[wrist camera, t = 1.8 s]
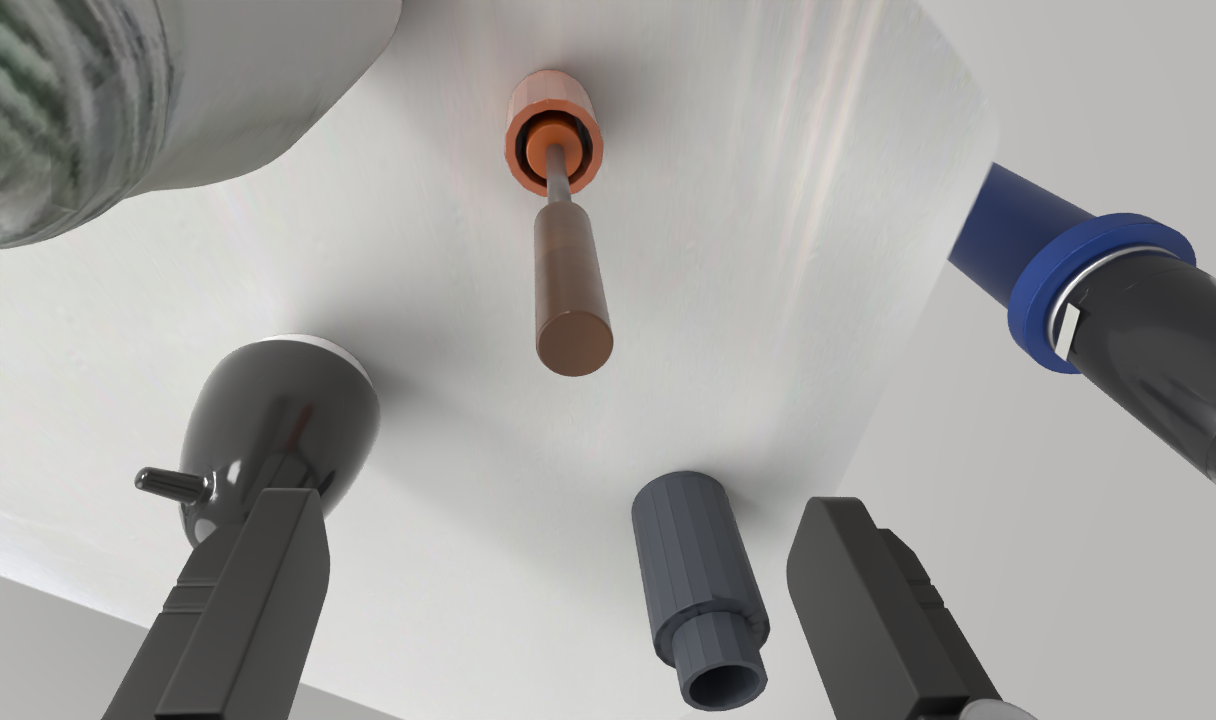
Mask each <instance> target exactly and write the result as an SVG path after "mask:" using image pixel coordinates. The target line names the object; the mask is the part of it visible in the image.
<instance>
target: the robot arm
mask: <svg viewBox="0 0 1216 720" xmlns="http://www.w3.org/2000/svg"><path fill="white" fill-rule="evenodd" d="M1043 333H1044V338H1045V340H1046V343H1047V344H1048V346H1049V347H1050V349H1051V350H1052V351H1053V352H1055V353H1056V354H1057V355H1058V356H1059V357H1061V358H1062V359H1063V360H1065V361H1066V362H1068V363H1070V364H1071V365H1072V366H1074V367H1075V368H1076V369H1077V370H1078V371H1080V372H1081V373H1082V374H1083V375H1085V376H1086V377H1087V378H1088V379H1089V380H1090V381H1092V383H1094V384H1095V385H1096V386H1097V387H1099V388H1100V389H1101V390H1102V391H1103V392H1105V393H1106V394H1107V395H1108V396H1109V397H1111V398H1112V399H1113V400H1114V401H1115V402H1117V403H1118V404H1119V405H1120V406H1122V407H1123V408H1124V409H1125V410H1127V411H1128V412H1129V413H1130V414H1131V415H1132V416H1134V417H1135V418H1136V419H1137V420H1138V421H1140V422H1141V423H1142V424H1143V425H1144V426H1146V427H1147V428H1148V429H1149V430H1151V431H1152V432H1153V433H1154V434H1156V435H1157V436H1158V437H1159V438H1160V439H1162V440H1163V441H1164V442H1165V443H1166V444H1167V445H1169V446H1170V447H1171V448H1172V449H1174V450H1175V451H1176V452H1177V453H1178V454H1180V455H1181V456H1182V457H1183V458H1184V459H1186V460H1187V461H1188V462H1189V463H1190V464H1192V465H1193V466H1194V467H1195V468H1197V469H1198V470H1199V471H1200V472H1202V473H1203V474H1204V475H1205V476H1206V477H1207V478H1209V479H1210V480H1211V481H1212V482H1214V483H1215V484H1216V278H1214V277H1213V276H1211V275H1209V274H1208V273H1206V272H1204V271H1202V270H1200V269H1198V268H1196V267H1194V266H1193V265H1191V264H1189V263H1187V262H1185V261H1183V260H1181V259H1180V258H1179V257H1178V256H1176V255H1175V254H1173V253H1171V252H1170V251H1168V250H1166V249H1164V248H1162V247H1160V246H1157V245H1154V244H1150V243H1130V244H1124V245H1120V246H1117V247H1114V248H1111V249H1108V250H1106V251H1104V252H1102V253H1100V254H1098V255H1096V256H1094V257H1093V258H1091V259H1089V260H1088V261H1086V262H1085V263H1083V264H1082V265H1081V266H1079V267H1078V268H1077V269H1076V270H1075V271H1074V272H1072V273H1071V274H1070V275H1069V276H1068V277H1067V278H1066V279H1065V280H1064V282H1063V283H1062V284H1061V285H1060V286H1059V288H1058V289H1057V290H1056V292H1055V293H1054V295H1053V297H1052V298H1051V300H1050V302H1049V304H1048V307H1047V309H1046V312H1045V316H1044V321H1043ZM329 574H330V554H329V548H328V542H327V536H326V530H325V524H324V518H323V512H322V506H321V500H320V495H319V492H318V490H317V489H303V488H265V489H263V490H262V491H261V492H260V494H259V496H258V497H257V499H256V502H255V504H254V506H253V508H252V510H251V512H250V514H249V516H248V518H247V520H246V522H245V523H233V522H223V523H222V524H221V525H220V526H219V527H218V528H216V529H215V530H214V531H213V532H212V533H211V534H210V535H209V536H208V537H207V538H206V539H204V540H203V541H202V542H201V543H200V544H199V545H198V546H197V547H196V548H195V549H194V550H193V552H192V554H191V555H190V557H189V559H188V561H187V563H186V565H185V566H184V568H183V570H182V572H181V574H180V576H179V578H178V579H177V585H176V587H173V589H172V590H171V592H170V594H169V596H168V598H167V600H166V602H165V603H164V605H163V611H162V613H159V615H158V616H157V618H156V620H155V622H154V624H153V626H152V627H151V629H150V631H149V633H148V635H147V637H146V639H145V640H144V642H143V644H142V646H141V648H140V650H139V652H138V653H137V655H136V657H135V659H134V661H133V663H132V665H131V666H130V668H129V670H128V672H127V674H126V676H125V677H124V679H123V681H122V683H121V685H120V687H119V688H118V690H117V692H116V694H115V696H114V698H113V700H112V702H111V704H110V705H109V707H108V709H107V711H106V713H105V714H104V716H103V717H102V719H101V720H287V719H288V716H289V713H290V709H291V707H292V703H293V700H294V697H295V694H296V690H297V687H298V684H299V681H300V677H301V674H302V671H303V668H304V665H305V661H306V658H307V655H308V652H309V648H310V645H311V642H312V639H313V635H314V632H315V629H316V626H317V623H318V619H319V616H320V613H321V610H322V606H323V603H324V600H325V597H326V593H327V588H328V583H329ZM787 584H788V589H789V593H790V596H791V599H792V601H793V604H794V607H795V610H796V612H797V615H798V618H799V620H800V623H801V625H802V628H803V631H804V634H805V636H806V639H807V642H808V644H809V647H810V649H811V652H812V655H813V658H814V660H815V663H816V666H817V668H818V671H819V673H820V676H821V679H822V682H823V684H824V687H825V690H826V692H827V695H828V698H829V700H830V703H831V706H832V708H833V711H834V714H835V716H836V718H837V720H1038V719H1037V718H1035V717H1034V716H1032V715H1031V714H1030V713H1028V712H1026V711H1025V710H1023V709H1021V708H1019V707H1017V706H1015V705H1012V704H1010V703H1007V702H1004V701H1003V700H1002V698H1001V697H1000V695H999V694H998V692H997V690H996V689H995V687H994V686H993V684H992V682H991V680H990V679H989V677H988V675H987V674H986V672H985V670H984V669H983V667H982V665H981V664H980V662H979V660H978V659H977V657H976V655H975V653H974V652H973V650H972V649H971V647H970V645H969V643H968V642H967V640H966V638H965V637H964V635H963V633H962V632H961V630H960V628H959V627H958V625H957V624H956V622H955V620H954V618H953V617H952V615H951V613H950V612H949V610H948V609H947V608H944V602H943V600H942V598H941V596H940V595H939V593H938V591H937V590H936V588H935V586H934V585H931V583H930V578H929V576H928V575H927V573H926V571H925V569H924V568H923V566H922V565H921V563H920V561H919V559H918V558H917V556H916V554H915V553H914V552H913V551H912V550H911V549H910V548H909V547H908V546H907V545H906V544H905V543H904V542H903V541H901V540H900V539H899V538H898V537H897V536H896V535H895V534H894V533H893V532H892V531H891V530H890V529H877V527H876V525H875V524H874V522H873V520H872V518H871V517H870V515H869V513H868V511H867V509H866V508H865V506H864V504H863V503H862V502H861V501H860V500H859V499H858V498H855V497H812V498H810V499H809V501H808V502H807V505H806V507H805V510H804V513H803V516H802V519H801V522H800V524H799V527H798V530H797V533H796V536H795V539H794V542H793V545H792V547H791V550H790V553H789V556H788V560H787Z"/></svg>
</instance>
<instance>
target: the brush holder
mask: <svg viewBox="0 0 1216 720" xmlns="http://www.w3.org/2000/svg"><path fill="white" fill-rule="evenodd" d="M546 110H559V111H566V112H567V113H569V114H571V115H573V116H575V118H576V123H577V127H578V132H579V136H580V140H581V145H582V151H583V153H582V160H581V163H580V165H579V167H578V169H577V170H576V171H575V172H574V173H573V174H572V175H570V176H569V177H568V181H569V188H570V194H574V193H577V192H578V191H580V190H582V189H583V188H584V187H585V186H586V185H588V184H589V183H590V182H591V181H592V180H593V179H594V177H595V175H596V173H597V171H598V169H599V168H600V166H601V163H602V157H603V146H604V145H603V140H602V136H601V133H600V130H599V126H598V123H597V120H596V117H595V114H594V111H593V108H592V105H591V102H590V99H589V96H588V94H587V93H586V91H585V89H584V88H583V86H582V85H581V84H580V83H579V82H578V81H577V80H576V79H574V78H573V77H571V76H570V75H568V74H566V73H564V72H560V71H555V70H543V71H538V72H535V73H533V74H531V75H529V76H527V77H526V78H525V79H523V80H522V81H521V82H520V83H519V84H518V86H517V87H516V88H515V90H514V92H513V94H512V96H511V99H510V102H509V106H508V115H507V124H506V133H505V158H506V161H507V163H508V166H509V169H510V171H511V173H512V175H513V176H514V177H515V178H516V179H517V181H518V182H519V183H520V184H521V185H522V186H523V187H524V188H526V189H527V190H529V191H531V192H533V193H536V194H538V195H540V196H543V197H548V193H547V179H545V178H543V177H541V176H539V175H538V174H536V173H535V172H534V171H533V169H532V168H531V166H530V165H529V162H528V159H527V154H526V143H527V120H529V119H530V118H531V117H532V116H533V115H534V114H537V113H540V112H543V111H546Z"/></svg>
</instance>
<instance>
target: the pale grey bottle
mask: <svg viewBox="0 0 1216 720" xmlns="http://www.w3.org/2000/svg"><path fill="white" fill-rule="evenodd" d="M401 9H402V0H0V249H9V248H14V247H19V246H24V245H29V244H34V243H37V242H41V241H44V240H47V239H51V238H54V237H56V236H59V235H61V234H63V233H65V232H68V231H70V230H72V229H75V228H77V227H79V226H81V225H83V224H85V223H87V222H89V221H91V220H93V219H95V218H97V217H98V216H100V215H102V214H103V213H104V212H106V211H107V210H109V209H110V208H111V207H113V206H114V205H116V204H117V203H119V202H120V201H121V200H123V199H126V198H129V197H133V196H136V195H140V194H143V193H147V192H150V191H158V190H170V189H182V188H191V187H198V186H204V185H209V184H213V183H217V182H221V181H224V180H228V179H232V178H235V177H239V176H242V175H244V174H247V173H250V172H252V171H254V170H257V169H259V168H261V167H263V166H265V165H267V164H268V163H270V162H272V161H273V160H275V159H276V158H277V157H279V156H280V155H282V154H283V153H284V152H286V151H287V150H288V149H290V148H291V146H292V145H293V144H295V143H296V142H297V141H298V139H300V138H301V137H302V136H303V135H304V134H305V133H306V132H307V131H308V130H309V129H310V128H311V127H312V126H313V125H314V124H315V123H316V122H317V121H318V120H319V119H320V118H321V117H322V116H323V115H324V114H325V113H326V112H327V111H328V110H329V109H330V108H331V107H332V106H333V105H334V104H335V103H336V102H337V101H338V100H339V99H340V98H341V97H342V96H343V95H344V94H345V93H346V92H347V91H348V90H349V89H350V88H351V87H352V86H353V85H354V83H355V82H357V80H358V79H359V78H360V77H361V76H362V75H363V74H364V73H365V71H366V70H367V69H368V68H369V67H370V66H371V65H372V64H373V62H374V61H375V60H376V59H377V58H378V57H379V55H380V54H381V53H382V52H383V51H384V49H385V48H386V46H387V44H388V42H389V41H390V39H391V37H392V35H393V33H394V31H395V28H396V26H397V23H398V21H399V17H400V14H401Z"/></svg>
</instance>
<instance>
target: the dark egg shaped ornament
mask: <svg viewBox="0 0 1216 720" xmlns="http://www.w3.org/2000/svg"><path fill="white" fill-rule="evenodd" d="M380 418H381V415H380V406H379V402H378V399H377V396H376V394H375V391H374V388H373V385H372V382H371V380H370V378H369V376H368V374H367V373H366V371H365V369H364V368H363V367H362V365H361V364H360V363H359V362H358V361H357V360H356V359H355V358H354V357H353V356H352V355H351V354H350V353H349V352H347V351H346V350H345V349H343V348H341V347H340V346H338V345H336V344H334V343H332V342H330V341H328V340H325V339H322V338H319V337H315V336H310V335H303V334H284V335H276V336H272V337H268V338H265V339H262V340H259V341H257V342H255V343H252V344H249V345H246V346H243V347H241V348H239V349H237V350H235V351H233V352H232V353H230V354H229V355H227V356H226V357H225V358H224V359H223V360H222V361H221V362H220V363H219V364H218V365H217V366H216V367H215V369H214V370H213V371H212V373H211V374H210V376H209V377H208V379H207V381H206V382H205V384H204V386H203V388H202V390H201V392H200V394H199V397H198V399H197V401H196V404H195V406H194V409H193V411H192V414H191V417H190V420H189V423H188V426H187V429H186V433H185V437H184V441H183V446H182V452H181V458H180V466H179V472H175V471H169V470H164V469H158V468H153V467H145V468H143V469H141V470H140V471H139V472H138V473H137V475H136V477H135V481H134V483H135V486H136V488H138V489H140V490H143V491H146V492H150V493H153V494H156V495H159V496H162V497H166V498H169V499H172V500H175V501H178V506H179V514H180V519H181V523H182V527H183V530H184V533H185V535H186V538H187V540H188V542H189V543H190V545H191V546H192V548H193V549H195V548H196V547H197V546H198V545H199V544H200V543H201V542H202V541H203V540H204V539H206V538H207V537H208V536H209V535H210V534H211V533H212V532H213V531H214V530H215V529H216V528H218V527H219V526H220V525H221V524H222V523H223V522H233V523H245V522H246V520H247V518H248V516H249V514H250V512H251V510H252V508H253V506H254V504H255V502H256V499H257V497H258V496H259V494H260V492H261V491H262V490H263V489H265V488H303V489H317V490H318V492H319V495H320V500H321V506H322V512H323V518H324V520H325V519H326V518H327V517H328V516H329V514H330V513H331V512H332V511H333V510H334V509H335V508H336V506H337V505H338V504H339V503H340V501H341V500H342V499H343V498H344V496H345V495H346V494H347V492H348V491H349V489H350V488H351V486H352V485H353V483H354V482H355V480H356V478H357V477H358V475H359V473H360V471H361V470H362V468H363V466H364V464H365V462H366V460H367V458H368V457H369V455H370V452H371V450H372V448H373V446H374V443H375V441H376V438H377V435H378V431H379V427H380Z"/></svg>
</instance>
